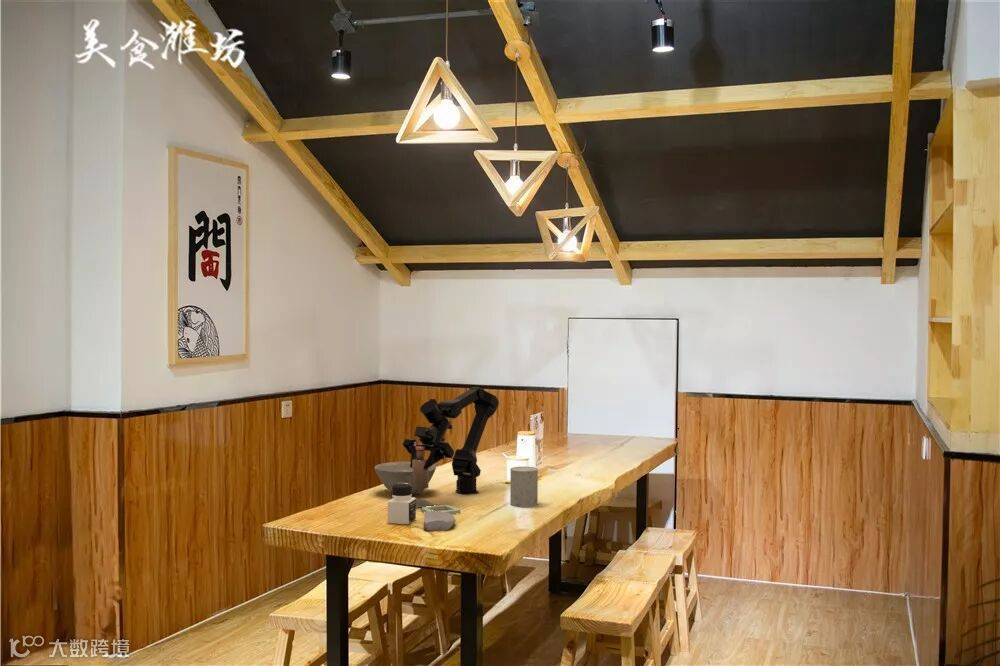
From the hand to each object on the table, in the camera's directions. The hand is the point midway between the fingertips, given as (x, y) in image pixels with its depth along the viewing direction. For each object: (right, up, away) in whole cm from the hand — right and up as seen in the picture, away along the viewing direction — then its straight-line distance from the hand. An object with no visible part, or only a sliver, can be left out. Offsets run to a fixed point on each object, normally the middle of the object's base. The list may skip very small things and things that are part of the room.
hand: (417, 468), depth 305 cm
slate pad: (-1, -13, +4) cm, 14 cm away
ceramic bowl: (-7, -13, +23) cm, 27 cm away
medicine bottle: (-3, -14, -21) cm, 26 cm away
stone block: (+9, -14, -27) cm, 32 cm away
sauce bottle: (+1, -7, +1) cm, 7 cm away
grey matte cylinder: (+36, -13, +5) cm, 39 cm away
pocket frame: (+8, -13, -8) cm, 18 cm away
